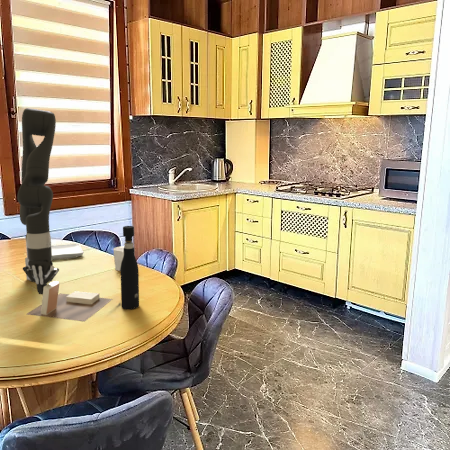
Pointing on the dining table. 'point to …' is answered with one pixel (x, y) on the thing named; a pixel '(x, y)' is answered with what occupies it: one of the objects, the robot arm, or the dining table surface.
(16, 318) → the dining table surface
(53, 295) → the tile terracotta
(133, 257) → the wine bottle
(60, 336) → the dining table surface
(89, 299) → the tile teal
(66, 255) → the salad plate
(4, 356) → the dining table surface
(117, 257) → the white cup
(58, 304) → the board
